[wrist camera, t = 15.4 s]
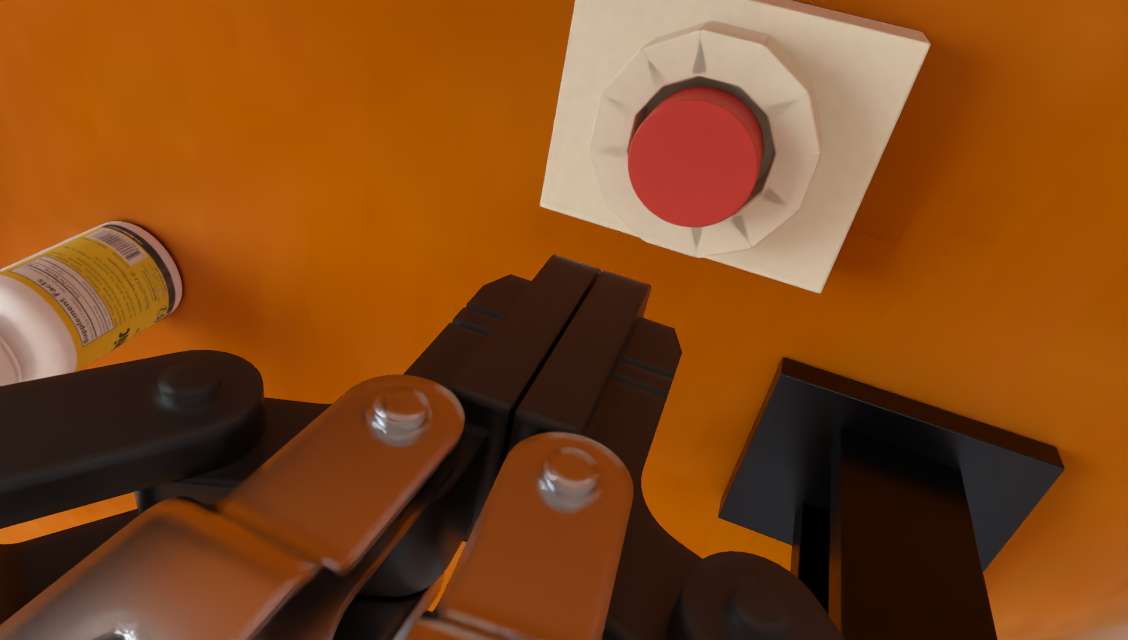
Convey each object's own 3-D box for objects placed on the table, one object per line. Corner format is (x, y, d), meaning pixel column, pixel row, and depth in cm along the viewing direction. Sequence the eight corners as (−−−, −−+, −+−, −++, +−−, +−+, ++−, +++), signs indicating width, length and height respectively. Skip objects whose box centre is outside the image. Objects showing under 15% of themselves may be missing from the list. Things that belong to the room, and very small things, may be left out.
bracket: (721, 498, 32) (662, 791, 21) (783, 356, 27) (747, 636, 17) (951, 584, 30) (1012, 950, 19) (1057, 447, 26) (1208, 822, 15)
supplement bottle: (132, 317, 39) (-53, 423, 31) (81, 224, 37) (-133, 313, 29) (204, 311, 37) (26, 424, 29) (155, 212, 34) (-53, 305, 26)
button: (629, 187, 22) (614, 207, 21) (657, 71, 20) (643, 84, 19) (741, 221, 22) (734, 244, 20) (782, 104, 20) (777, 120, 18)
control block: (558, 186, 27) (520, 225, 24) (602, -46, 23) (562, -38, 19) (821, 267, 25) (819, 320, 22) (923, 32, 21) (939, 55, 18)
